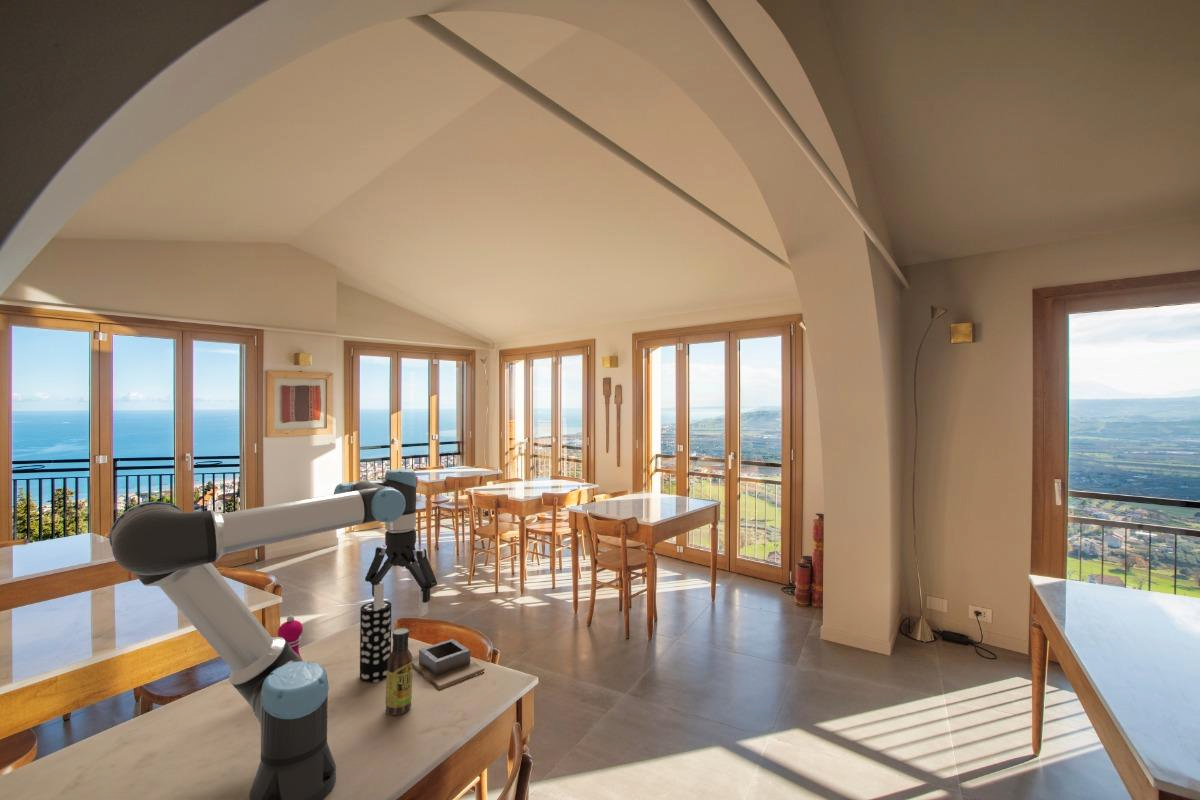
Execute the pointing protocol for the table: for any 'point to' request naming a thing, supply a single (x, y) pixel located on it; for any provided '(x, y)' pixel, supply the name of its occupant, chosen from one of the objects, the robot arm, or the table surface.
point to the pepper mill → (291, 633)
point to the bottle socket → (444, 657)
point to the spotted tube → (374, 642)
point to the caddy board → (448, 673)
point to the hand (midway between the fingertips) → (400, 611)
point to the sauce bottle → (399, 674)
